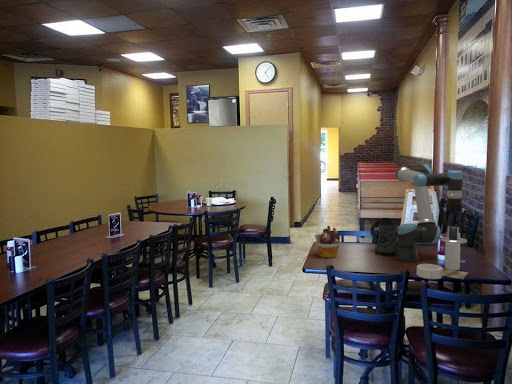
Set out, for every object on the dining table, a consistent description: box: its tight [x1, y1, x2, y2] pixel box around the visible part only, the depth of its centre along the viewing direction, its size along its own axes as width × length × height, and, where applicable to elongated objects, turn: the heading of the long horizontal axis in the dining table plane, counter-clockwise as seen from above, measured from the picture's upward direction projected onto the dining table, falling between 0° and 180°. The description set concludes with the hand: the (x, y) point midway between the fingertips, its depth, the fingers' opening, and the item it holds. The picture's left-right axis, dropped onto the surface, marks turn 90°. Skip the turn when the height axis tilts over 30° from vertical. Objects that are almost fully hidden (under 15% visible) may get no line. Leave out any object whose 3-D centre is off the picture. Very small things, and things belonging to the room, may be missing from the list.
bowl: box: [416, 263, 444, 280], centre depth 233 cm, size 13×13×5 cm
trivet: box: [443, 268, 469, 280], centre depth 235 cm, size 14×14×1 cm
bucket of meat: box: [314, 225, 341, 258], centre depth 280 cm, size 20×16×20 cm
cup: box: [444, 242, 461, 271], centre depth 246 cm, size 8×8×16 cm
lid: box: [439, 226, 468, 245], centre depth 232 cm, size 14×14×8 cm
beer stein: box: [369, 217, 398, 257], centre depth 283 cm, size 16×19×25 cm
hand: (453, 237), depth 233 cm, fingers closed on lid, 4 cm apart
